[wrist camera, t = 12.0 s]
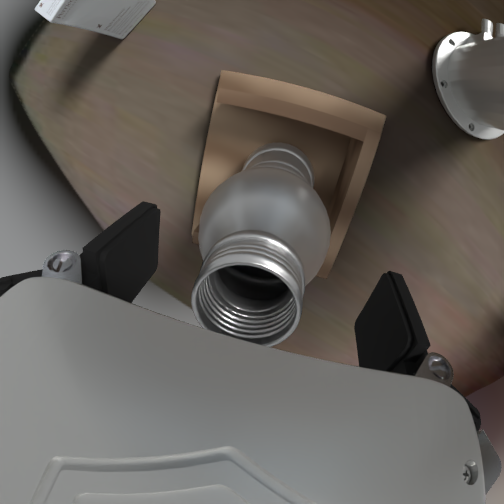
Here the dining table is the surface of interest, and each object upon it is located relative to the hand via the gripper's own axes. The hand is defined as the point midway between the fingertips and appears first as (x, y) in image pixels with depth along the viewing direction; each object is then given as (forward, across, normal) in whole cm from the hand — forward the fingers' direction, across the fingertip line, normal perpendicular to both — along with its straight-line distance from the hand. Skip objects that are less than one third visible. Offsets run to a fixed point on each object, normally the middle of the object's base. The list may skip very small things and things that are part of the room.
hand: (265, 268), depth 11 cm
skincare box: (+19, +21, -15) cm, 32 cm away
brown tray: (+19, 0, +1) cm, 19 cm away
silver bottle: (+18, +1, +1) cm, 18 cm away
